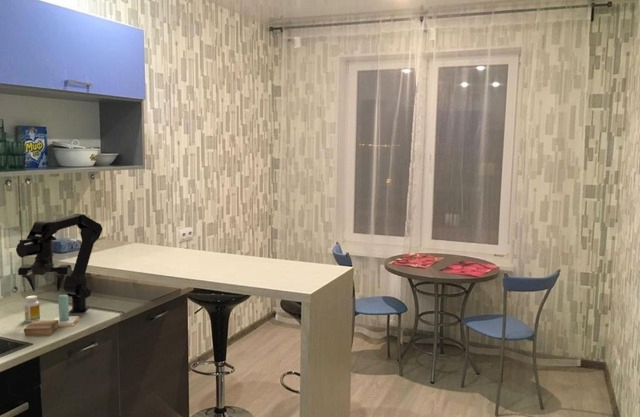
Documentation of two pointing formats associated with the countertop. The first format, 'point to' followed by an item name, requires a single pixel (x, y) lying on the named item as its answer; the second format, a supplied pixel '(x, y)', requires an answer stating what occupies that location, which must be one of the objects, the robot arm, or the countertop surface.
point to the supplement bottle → (32, 309)
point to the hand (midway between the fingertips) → (46, 290)
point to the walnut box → (41, 328)
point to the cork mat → (70, 325)
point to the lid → (65, 312)
